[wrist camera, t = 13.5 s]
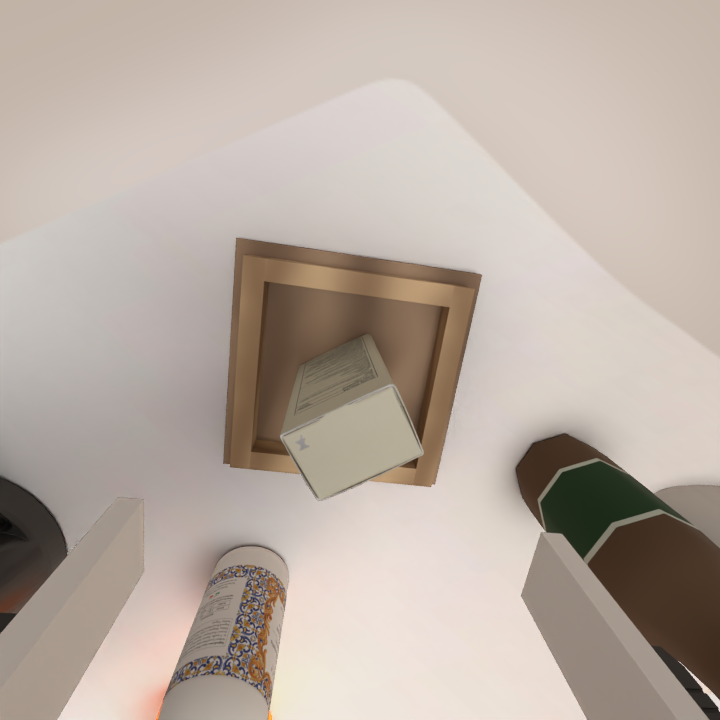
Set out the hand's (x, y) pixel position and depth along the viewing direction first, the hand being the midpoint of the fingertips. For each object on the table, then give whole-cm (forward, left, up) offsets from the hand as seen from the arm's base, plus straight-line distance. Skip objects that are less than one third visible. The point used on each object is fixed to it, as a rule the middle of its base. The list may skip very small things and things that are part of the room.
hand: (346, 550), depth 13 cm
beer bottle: (+20, -7, -20) cm, 29 cm away
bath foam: (-6, -21, -20) cm, 29 cm away
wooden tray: (0, 0, -20) cm, 20 cm away
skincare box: (0, 0, -19) cm, 19 cm away
